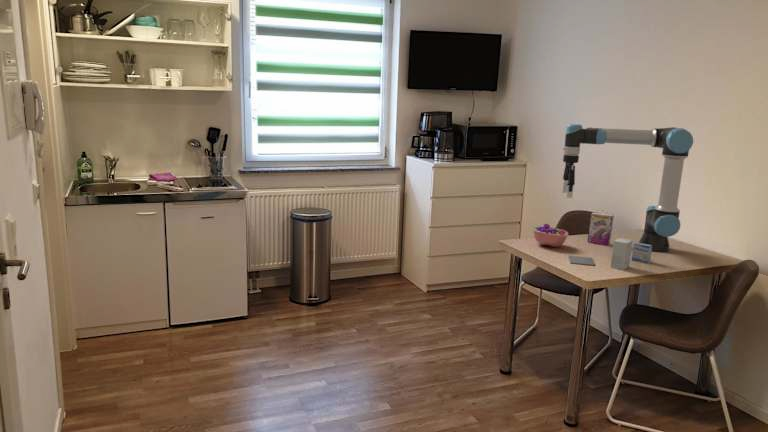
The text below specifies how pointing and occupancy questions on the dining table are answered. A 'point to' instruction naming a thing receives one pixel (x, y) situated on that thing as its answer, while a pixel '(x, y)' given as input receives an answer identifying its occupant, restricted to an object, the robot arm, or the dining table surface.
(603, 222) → the candy bar box
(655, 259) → the dining table surface
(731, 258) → the dining table surface
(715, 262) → the dining table surface
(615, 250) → the small box
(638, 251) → the medicine box
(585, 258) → the slate coaster
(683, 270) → the dining table surface
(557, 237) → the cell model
